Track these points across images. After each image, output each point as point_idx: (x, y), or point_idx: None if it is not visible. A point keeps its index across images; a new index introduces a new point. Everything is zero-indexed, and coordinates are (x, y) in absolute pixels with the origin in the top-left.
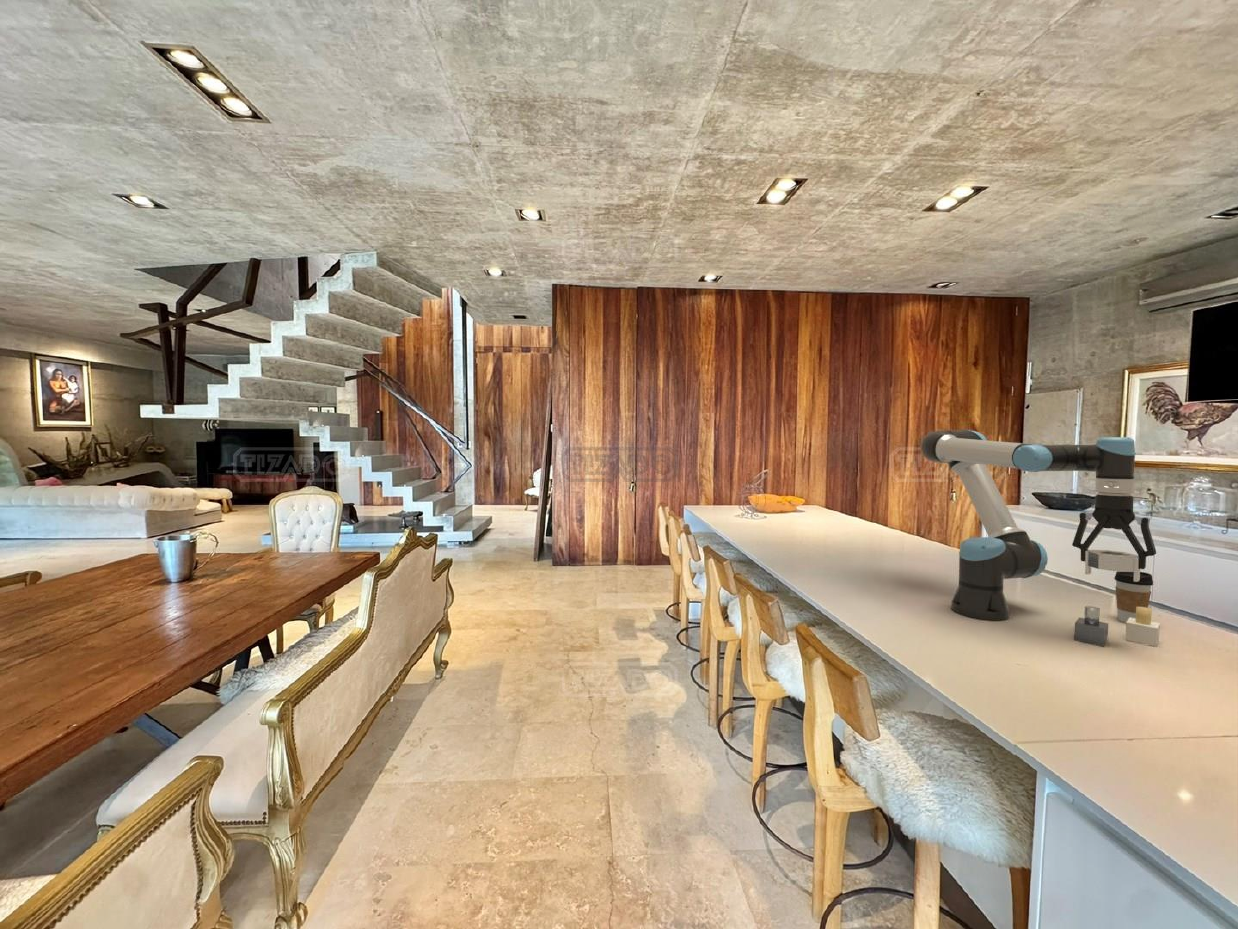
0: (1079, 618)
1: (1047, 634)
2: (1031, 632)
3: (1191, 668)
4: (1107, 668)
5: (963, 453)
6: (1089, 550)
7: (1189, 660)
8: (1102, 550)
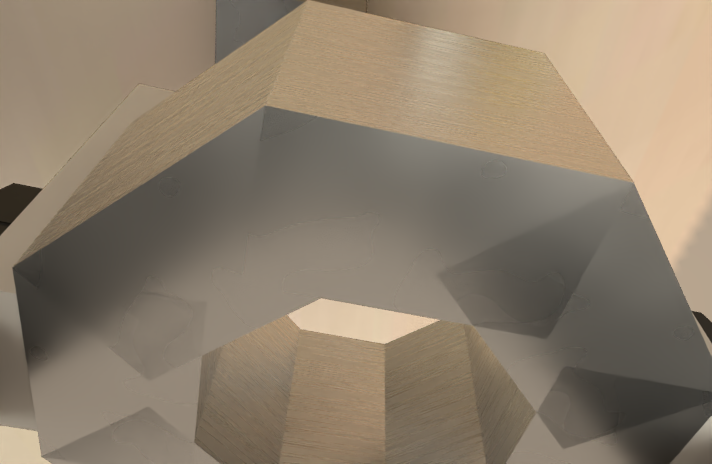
0: (219, 15)
1: (123, 71)
2: (62, 91)
3: (628, 156)
4: (355, 328)
5: None
6: (13, 364)
7: (669, 42)
8: (190, 238)
